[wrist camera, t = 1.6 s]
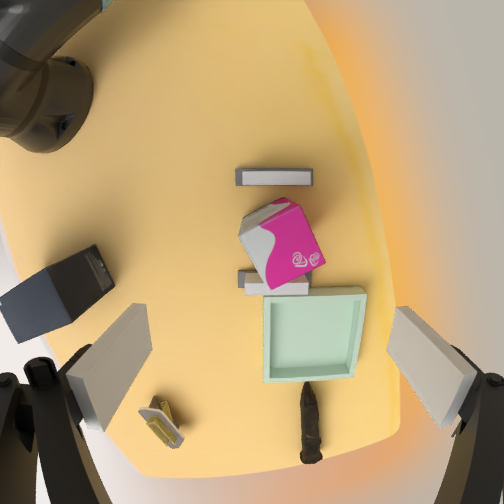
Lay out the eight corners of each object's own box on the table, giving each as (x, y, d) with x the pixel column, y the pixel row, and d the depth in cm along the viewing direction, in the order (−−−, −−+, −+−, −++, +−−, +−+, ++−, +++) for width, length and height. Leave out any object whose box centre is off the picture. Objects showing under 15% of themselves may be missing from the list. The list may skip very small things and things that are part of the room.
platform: (172, 361, 40) (160, 388, 34) (226, 435, 44) (222, 462, 37) (116, 377, 41) (100, 400, 35) (171, 444, 45) (164, 469, 39)
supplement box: (264, 260, 36) (266, 294, 25) (241, 217, 35) (234, 232, 24) (306, 239, 35) (327, 264, 24) (285, 195, 34) (298, 200, 23)
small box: (61, 312, 39) (17, 345, 27) (42, 274, 37) (-7, 299, 26) (117, 287, 37) (72, 324, 26) (96, 243, 36) (43, 265, 24)
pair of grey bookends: (236, 169, 34) (232, 166, 29) (311, 169, 33) (319, 166, 29) (238, 285, 37) (235, 300, 32) (309, 284, 37) (316, 298, 32)
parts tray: (263, 288, 37) (263, 297, 34) (359, 285, 36) (367, 293, 34) (263, 370, 40) (263, 382, 37) (348, 365, 39) (353, 377, 36)
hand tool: (320, 448, 44) (323, 465, 40) (299, 451, 44) (301, 469, 40) (323, 376, 40) (329, 394, 36) (297, 379, 40) (301, 399, 36)
